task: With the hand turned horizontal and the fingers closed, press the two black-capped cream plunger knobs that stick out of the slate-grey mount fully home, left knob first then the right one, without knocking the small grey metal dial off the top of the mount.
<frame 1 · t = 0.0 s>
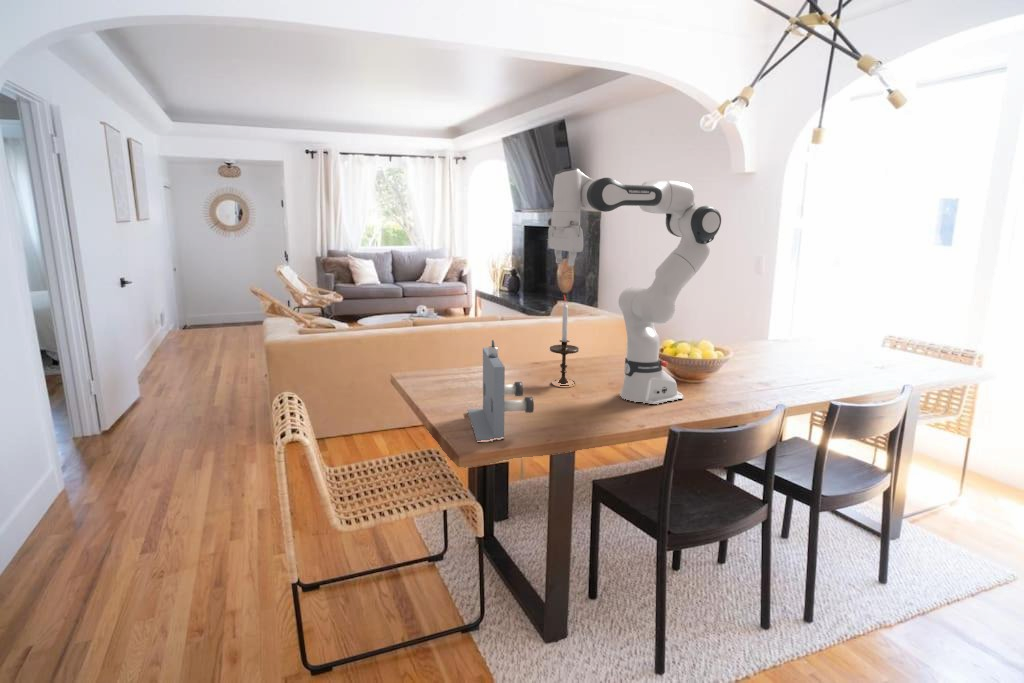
hand: (564, 264, 190), 48 cm above the table, tool pointing down, fingers open, 8 cm apart
knob left: (515, 405, 172), point 9 cm above the table, slide at 6.0 cm
candlestick: (563, 384, 225), on the table
mount: (497, 425, 181), on the table
knob right: (506, 389, 187), point 9 cm above the table, slide at 6.0 cm
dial: (493, 356, 176), point 22 cm above the table, touching mount
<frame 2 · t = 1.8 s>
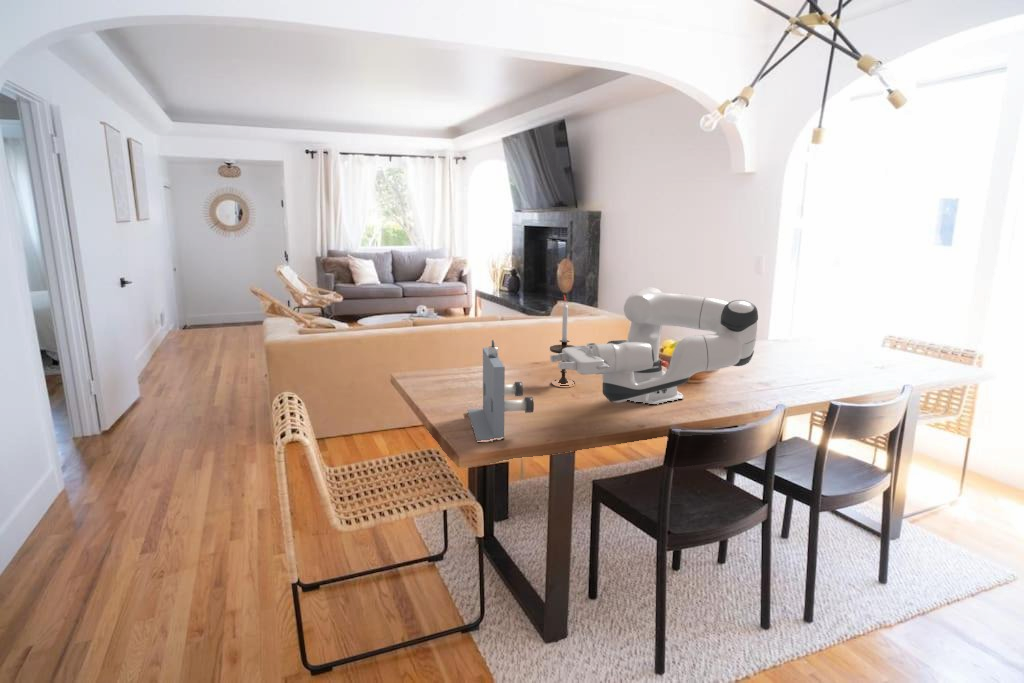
hand: (554, 361, 168), 23 cm above the table, tool horizontal, fingers open, 8 cm apart
nothing on the table moved.
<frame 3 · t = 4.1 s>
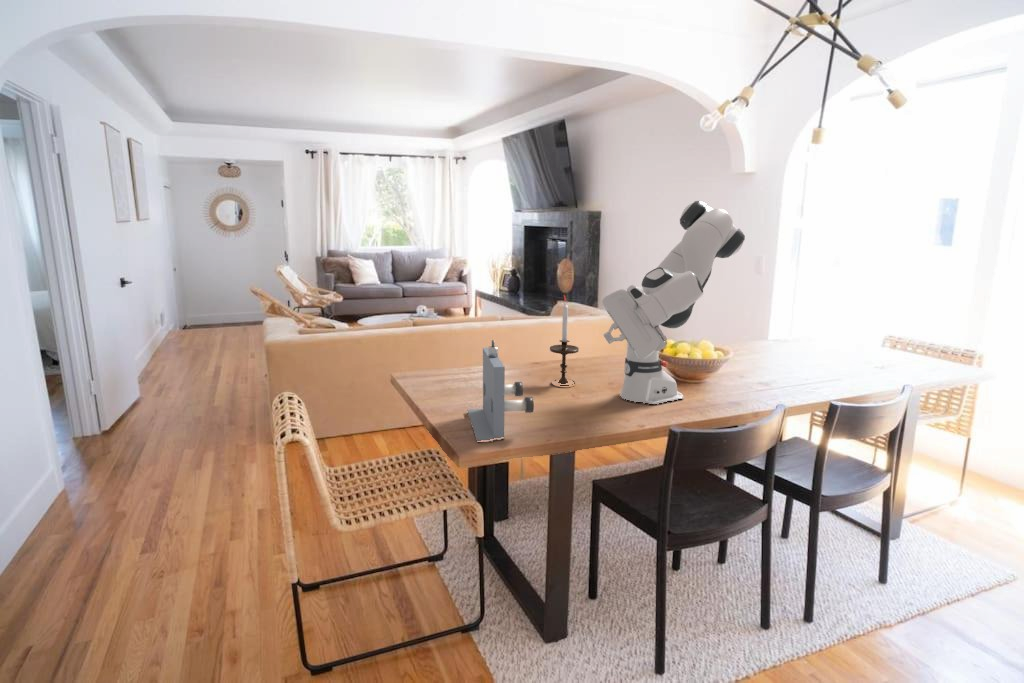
hand: (606, 339, 162), 30 cm above the table, tool tilted 60°, fingers closed
nothing on the table moved.
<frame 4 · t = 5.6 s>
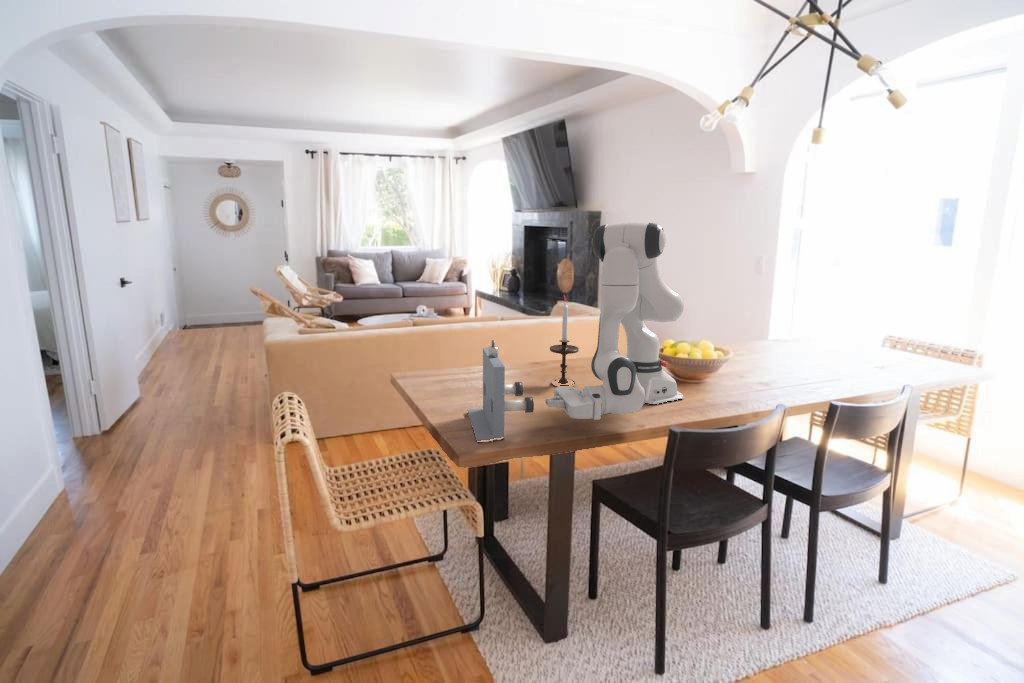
hand: (546, 402, 174), 9 cm above the table, tool horizontal, fingers closed
nothing on the table moved.
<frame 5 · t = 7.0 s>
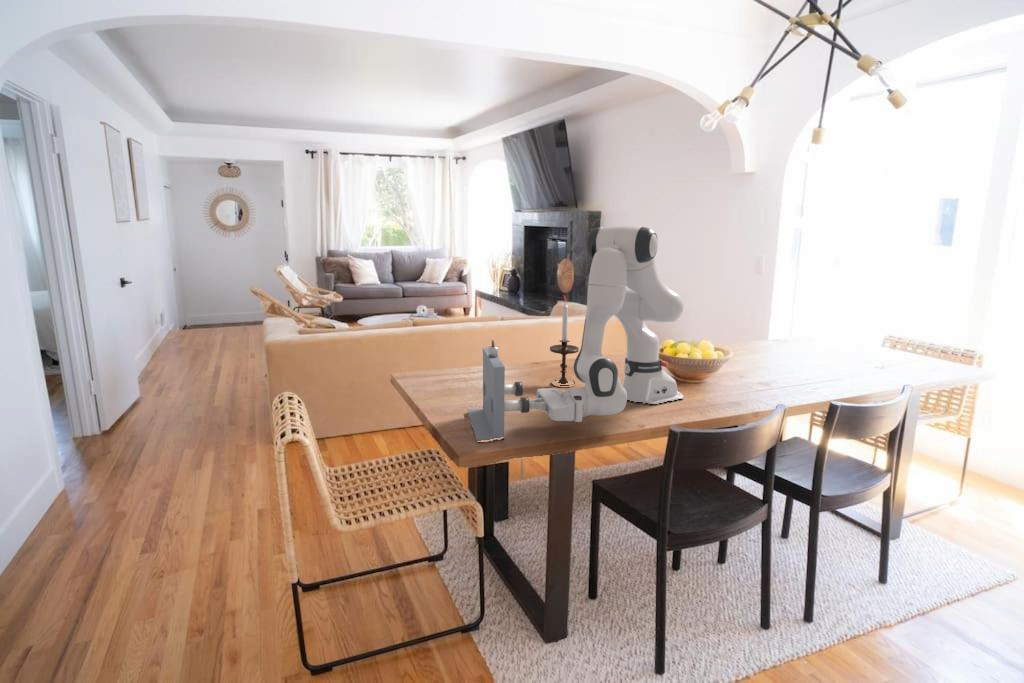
hand: (528, 404, 172), 9 cm above the table, tool horizontal, fingers closed, pressing on knob left
knob left: (511, 405, 172), point 9 cm above the table, slide at 4.7 cm, touching gripper
everything else where it was.
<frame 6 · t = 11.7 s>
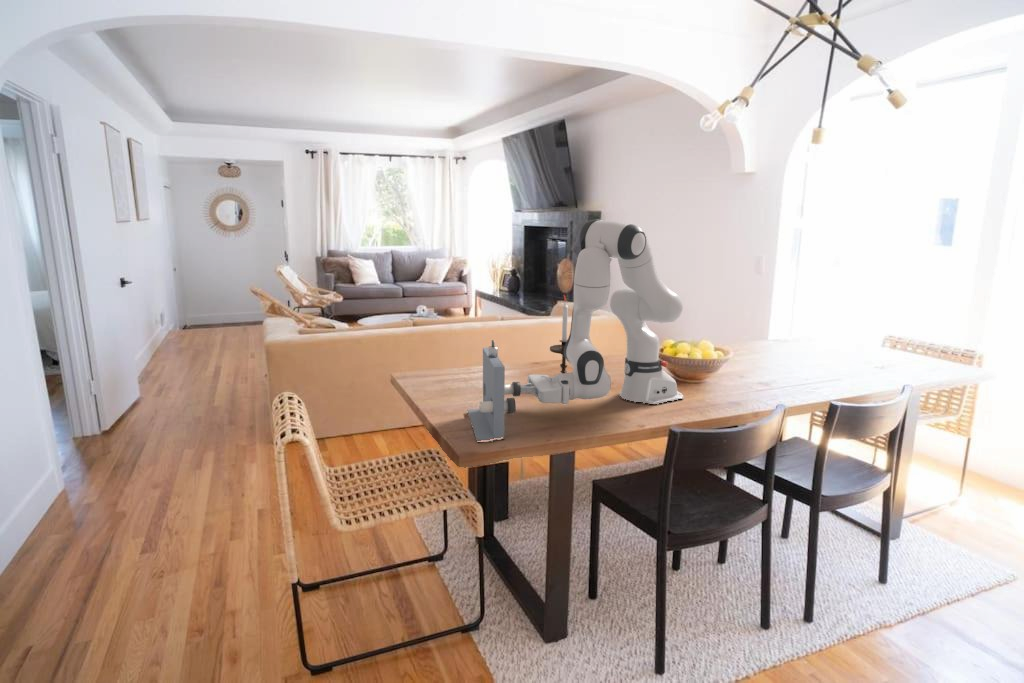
hand: (519, 388, 188), 9 cm above the table, tool horizontal, fingers closed, pressing on knob right
knob left: (497, 406, 171), point 9 cm above the table, slide at 0.6 cm
knob right: (503, 389, 187), point 9 cm above the table, slide at 5.3 cm, touching gripper
everything else where it was.
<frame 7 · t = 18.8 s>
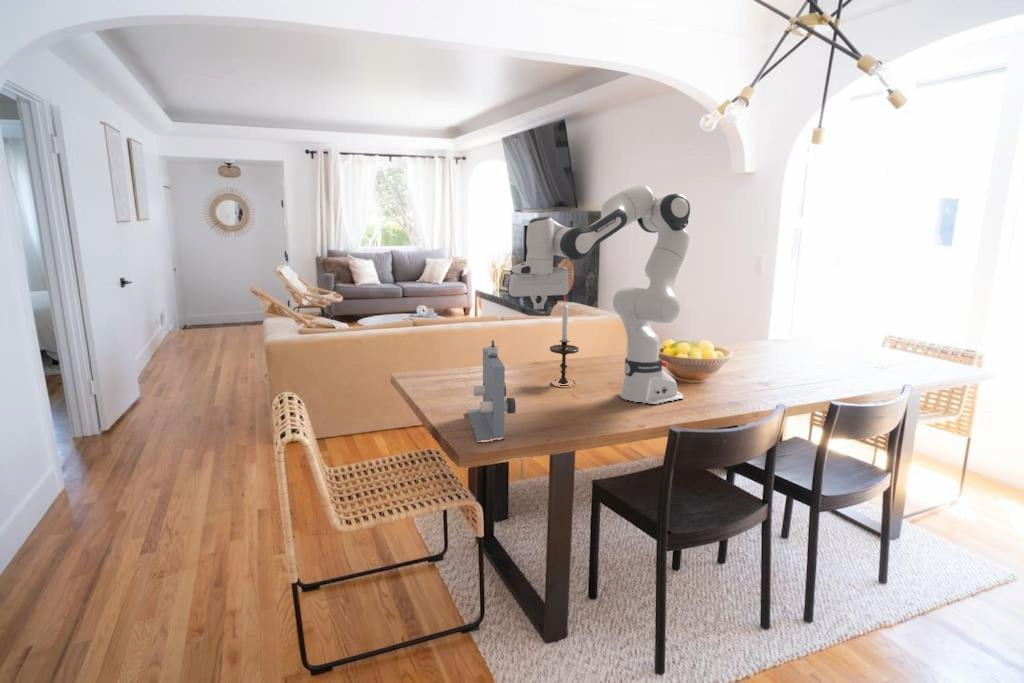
hand: (538, 309, 194), 33 cm above the table, tool pointing down, fingers closed
knob right: (489, 390, 186), point 9 cm above the table, slide at 0.6 cm
everything else where it was.
at the end: knob left slide at 0.6 cm; knob right slide at 0.6 cm; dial moved 0.1 cm from its start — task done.
